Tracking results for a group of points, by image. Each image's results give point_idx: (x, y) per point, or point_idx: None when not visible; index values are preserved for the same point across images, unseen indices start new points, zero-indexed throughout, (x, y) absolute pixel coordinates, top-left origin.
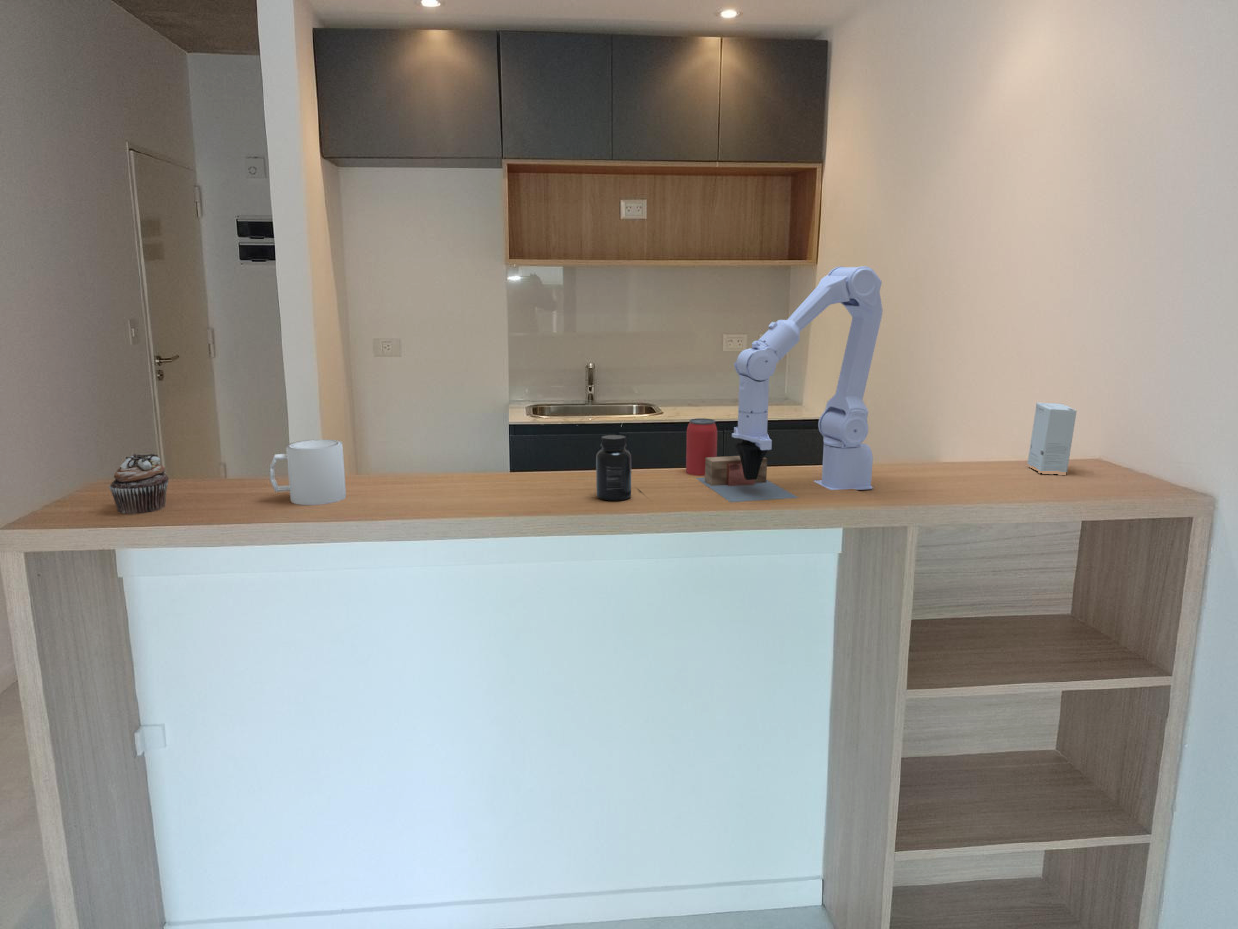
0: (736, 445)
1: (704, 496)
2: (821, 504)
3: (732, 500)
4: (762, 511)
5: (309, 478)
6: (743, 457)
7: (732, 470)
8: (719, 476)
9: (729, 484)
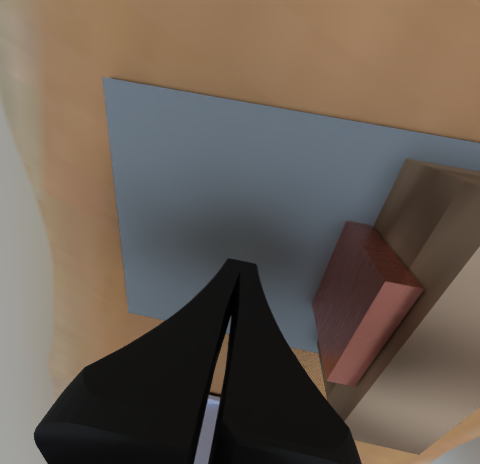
0: (280, 436)
1: (293, 32)
2: (92, 323)
3: (125, 102)
4: (22, 153)
5: None
6: (204, 332)
7: (362, 274)
8: (408, 211)
9: (347, 227)
